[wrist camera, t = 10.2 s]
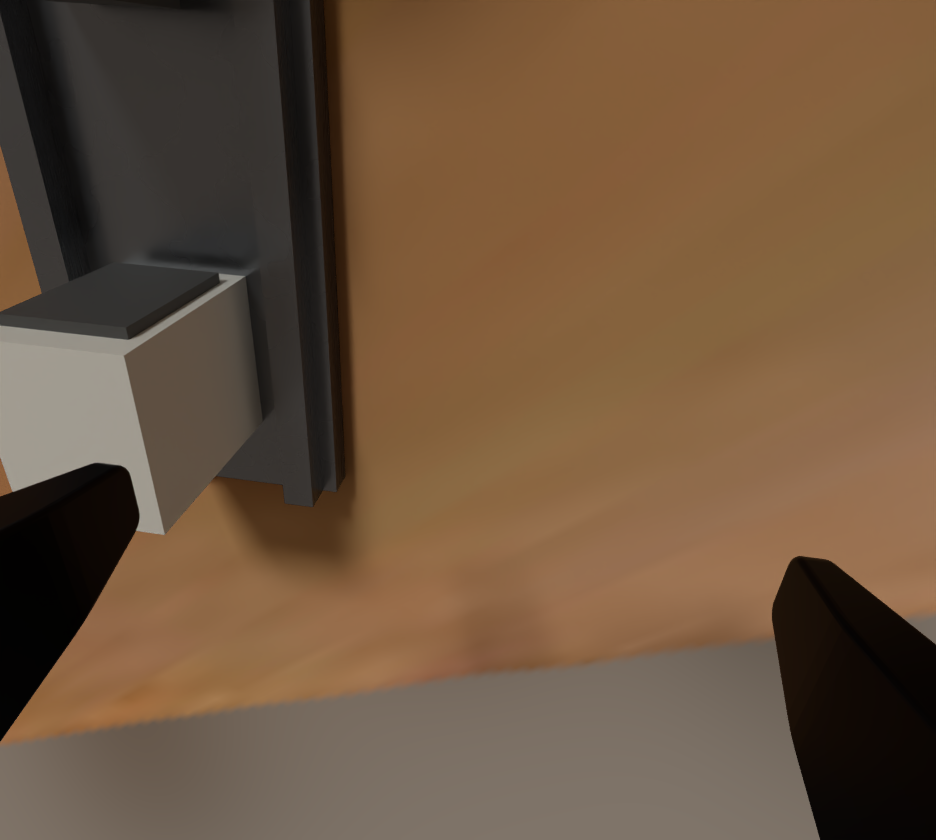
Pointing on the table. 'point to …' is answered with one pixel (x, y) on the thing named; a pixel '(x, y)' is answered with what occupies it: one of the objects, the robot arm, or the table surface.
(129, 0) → the block
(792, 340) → the table surface
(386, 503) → the table surface
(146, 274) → the block
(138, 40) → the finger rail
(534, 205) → the table surface
